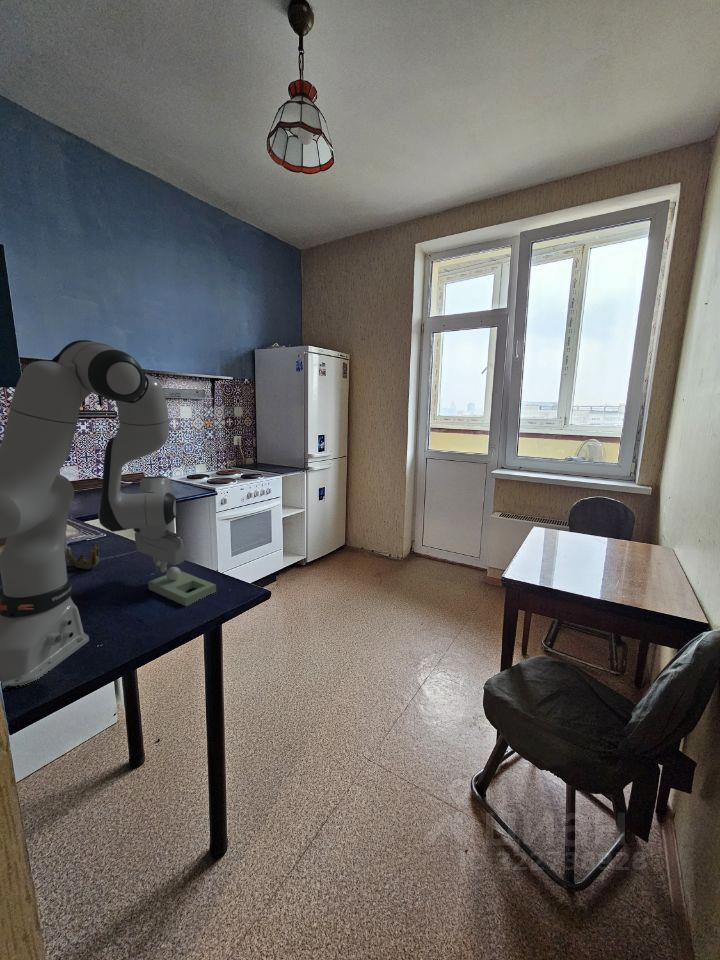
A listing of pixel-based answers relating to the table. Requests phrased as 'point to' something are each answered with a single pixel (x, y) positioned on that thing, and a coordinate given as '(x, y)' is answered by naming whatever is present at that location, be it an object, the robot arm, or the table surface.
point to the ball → (173, 573)
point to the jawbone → (82, 561)
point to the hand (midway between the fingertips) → (161, 570)
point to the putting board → (182, 588)
